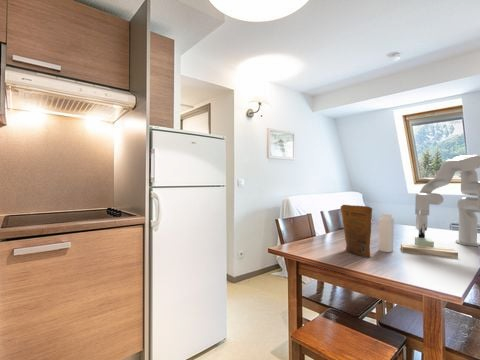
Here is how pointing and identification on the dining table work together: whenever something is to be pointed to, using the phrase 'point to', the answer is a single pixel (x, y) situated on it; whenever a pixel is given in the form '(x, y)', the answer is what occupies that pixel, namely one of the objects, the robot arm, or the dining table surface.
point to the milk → (386, 233)
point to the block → (424, 241)
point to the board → (429, 250)
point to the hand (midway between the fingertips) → (421, 240)
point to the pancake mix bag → (357, 229)
